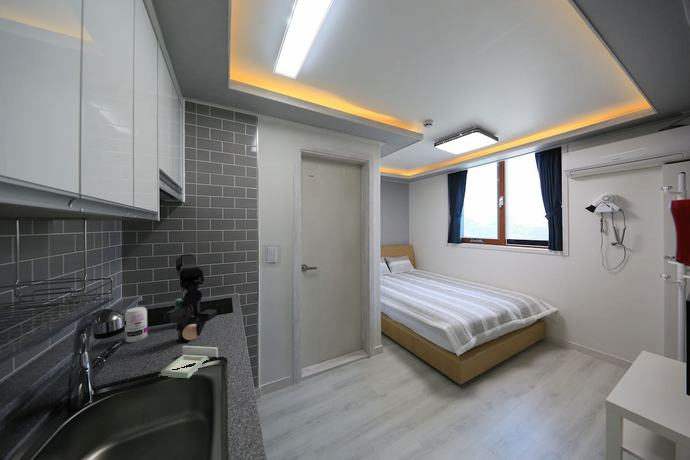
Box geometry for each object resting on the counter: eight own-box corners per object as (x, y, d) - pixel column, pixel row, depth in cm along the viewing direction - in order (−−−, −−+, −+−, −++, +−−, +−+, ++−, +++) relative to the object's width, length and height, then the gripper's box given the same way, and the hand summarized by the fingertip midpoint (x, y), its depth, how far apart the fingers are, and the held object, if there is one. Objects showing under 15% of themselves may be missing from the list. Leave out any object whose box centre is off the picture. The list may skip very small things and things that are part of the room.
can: (178, 328, 127) (178, 301, 127) (173, 325, 130) (173, 299, 130) (190, 324, 132) (190, 298, 132) (185, 321, 135) (185, 296, 135)
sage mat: (158, 376, 87) (158, 371, 87) (183, 358, 99) (183, 353, 99) (188, 378, 86) (188, 373, 86) (209, 359, 98) (209, 355, 98)
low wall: (182, 355, 101) (181, 346, 101) (183, 354, 102) (183, 345, 102) (216, 357, 99) (216, 348, 99) (217, 356, 100) (217, 347, 100)
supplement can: (138, 334, 120) (138, 305, 120) (151, 335, 118) (151, 307, 118) (120, 342, 112) (120, 311, 112) (134, 344, 110) (133, 312, 110)
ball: (178, 342, 92) (178, 327, 92) (189, 335, 98) (189, 321, 98) (192, 343, 92) (192, 328, 92) (203, 335, 98) (203, 321, 98)
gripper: (151, 303, 87) (152, 344, 88) (198, 305, 86) (199, 346, 86) (175, 295, 98) (175, 331, 99) (217, 295, 97) (217, 332, 97)
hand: (191, 335), depth 95 cm, fingers closed on ball, 6 cm apart
